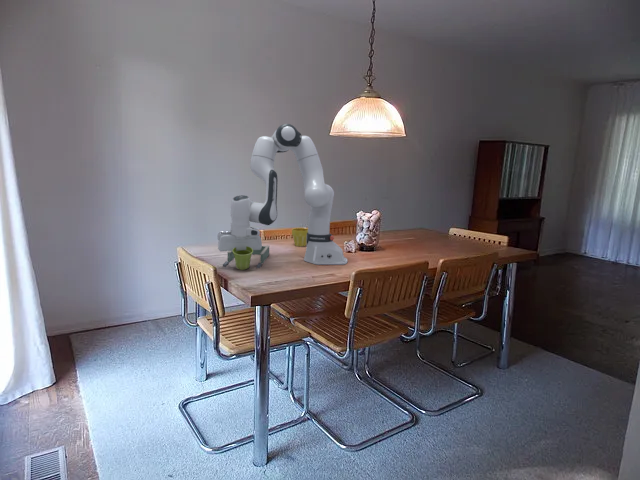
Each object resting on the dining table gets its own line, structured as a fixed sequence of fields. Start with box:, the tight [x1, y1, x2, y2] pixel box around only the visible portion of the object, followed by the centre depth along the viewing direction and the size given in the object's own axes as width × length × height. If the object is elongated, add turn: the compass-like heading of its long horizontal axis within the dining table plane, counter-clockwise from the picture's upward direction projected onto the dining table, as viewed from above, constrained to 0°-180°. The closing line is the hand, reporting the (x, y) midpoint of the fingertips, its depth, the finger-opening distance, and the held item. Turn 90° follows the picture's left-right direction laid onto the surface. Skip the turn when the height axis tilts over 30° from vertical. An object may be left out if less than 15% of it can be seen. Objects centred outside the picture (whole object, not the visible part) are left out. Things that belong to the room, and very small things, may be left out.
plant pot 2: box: [291, 227, 308, 247], centre depth 259 cm, size 10×10×10 cm
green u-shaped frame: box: [226, 245, 270, 265], centre depth 223 cm, size 18×20×5 cm
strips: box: [222, 260, 263, 269], centre depth 208 cm, size 18×6×1 cm, turn 88°
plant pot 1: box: [232, 246, 253, 271], centre depth 202 cm, size 9×9×9 cm
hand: (239, 259), depth 206 cm, fingers closed
